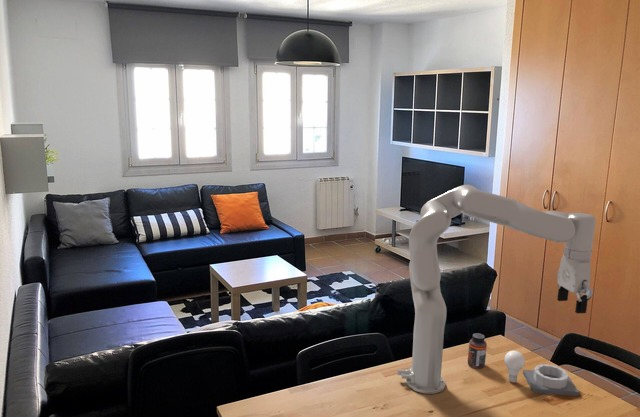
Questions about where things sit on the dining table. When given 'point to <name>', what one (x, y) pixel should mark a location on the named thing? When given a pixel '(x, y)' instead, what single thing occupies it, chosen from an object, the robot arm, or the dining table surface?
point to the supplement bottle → (477, 351)
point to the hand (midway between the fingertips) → (571, 306)
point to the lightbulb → (514, 364)
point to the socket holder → (550, 380)
